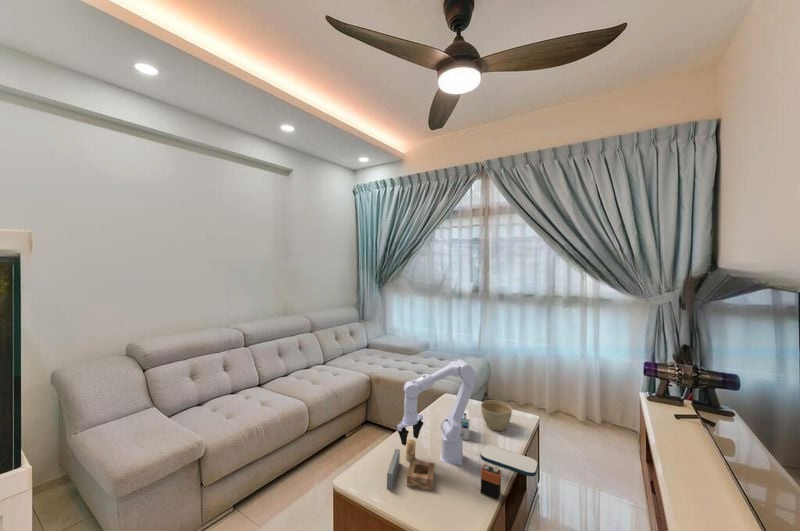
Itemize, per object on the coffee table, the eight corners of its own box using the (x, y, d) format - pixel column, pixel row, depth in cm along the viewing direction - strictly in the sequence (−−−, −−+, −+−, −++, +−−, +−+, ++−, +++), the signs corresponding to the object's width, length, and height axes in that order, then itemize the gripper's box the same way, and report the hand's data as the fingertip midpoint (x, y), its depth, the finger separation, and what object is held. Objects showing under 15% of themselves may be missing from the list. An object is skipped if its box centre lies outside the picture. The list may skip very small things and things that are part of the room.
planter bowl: (514, 424, 172) (515, 405, 172) (507, 438, 158) (508, 416, 158) (485, 416, 181) (486, 397, 180) (476, 428, 167) (477, 408, 167)
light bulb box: (469, 440, 155) (469, 419, 155) (455, 438, 156) (456, 417, 156) (468, 429, 165) (469, 409, 165) (455, 427, 167) (456, 407, 167)
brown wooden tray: (434, 472, 130) (434, 463, 130) (432, 490, 120) (432, 479, 120) (410, 469, 131) (410, 459, 131) (406, 486, 122) (407, 475, 121)
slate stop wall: (399, 464, 135) (399, 449, 135) (391, 490, 120) (392, 474, 119) (394, 463, 136) (395, 448, 136) (386, 489, 120) (387, 473, 120)
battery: (498, 500, 116) (499, 473, 116) (480, 493, 119) (481, 467, 119) (500, 493, 120) (501, 467, 120) (483, 486, 123) (483, 461, 123)
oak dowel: (415, 457, 140) (416, 440, 140) (414, 463, 136) (414, 445, 136) (406, 456, 141) (407, 439, 141) (405, 462, 137) (405, 444, 137)
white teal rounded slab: (478, 460, 140) (478, 455, 140) (485, 447, 150) (485, 443, 150) (535, 479, 129) (535, 475, 129) (538, 464, 139) (538, 460, 139)
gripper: (414, 402, 145) (414, 431, 145) (392, 412, 134) (391, 443, 135) (426, 407, 140) (425, 437, 140) (404, 418, 129) (403, 450, 130)
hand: (409, 440), depth 137 cm, fingers open, 7 cm apart
